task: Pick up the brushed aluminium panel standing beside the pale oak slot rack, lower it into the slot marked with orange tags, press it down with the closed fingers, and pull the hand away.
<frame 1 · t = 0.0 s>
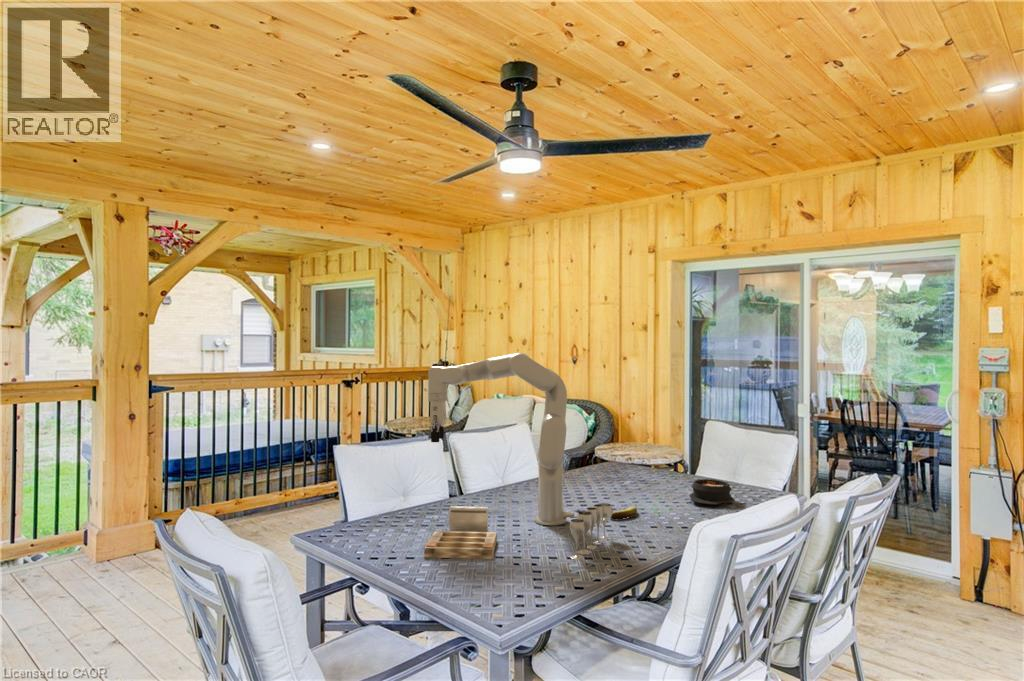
hand: (437, 440, 235), 31 cm above the table, tool pointing down, fingers open, 9 cm apart
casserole: (711, 502, 263), on the table
rack: (462, 548, 200), on the table
yellow brown curved block: (624, 517, 240), on the table
blanking panel: (468, 533, 217), on the table
goblet set: (591, 547, 202), on the table
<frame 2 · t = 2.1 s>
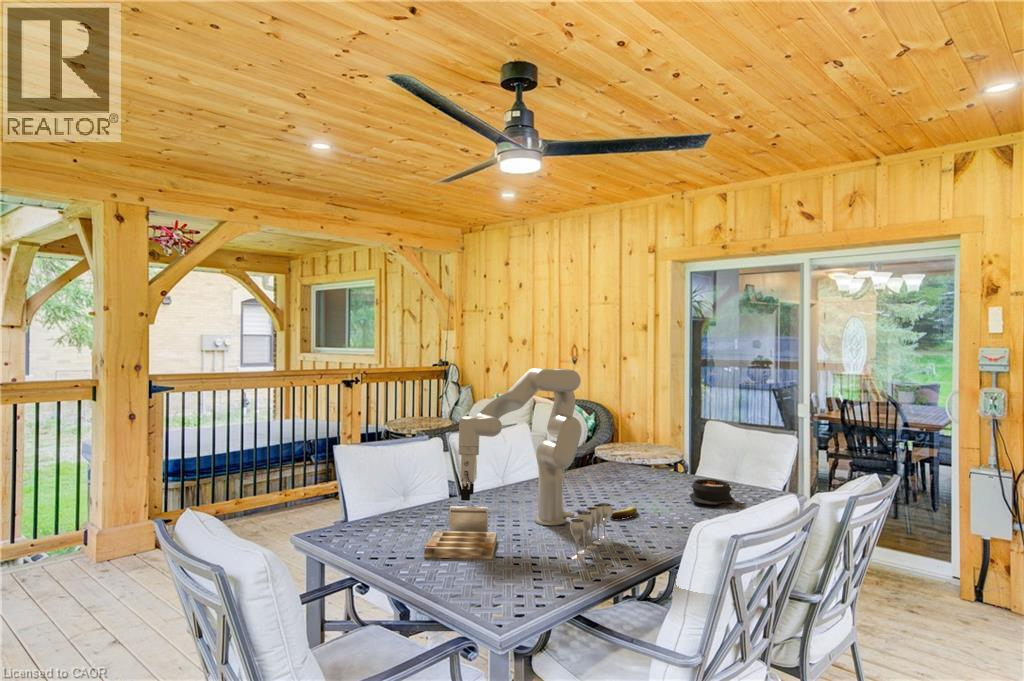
hand: (467, 497, 217), 13 cm above the table, tool pointing down, fingers open, 9 cm apart
nothing on the table moved.
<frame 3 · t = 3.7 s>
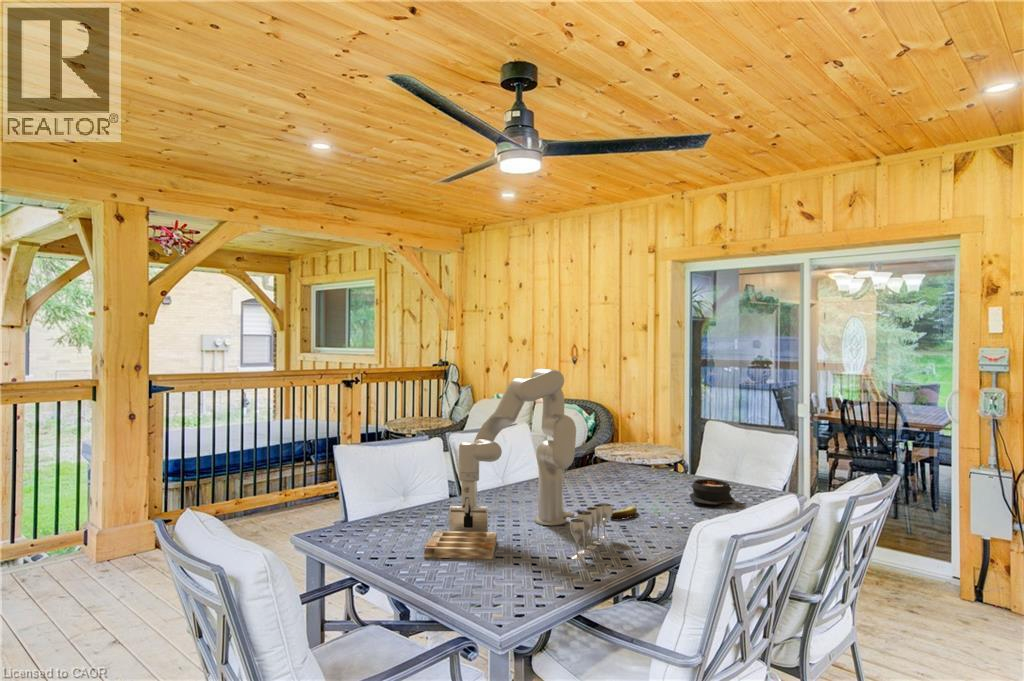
hand: (468, 525, 217), 3 cm above the table, tool pointing down, fingers closed on blanking panel, 2 cm apart
blanking panel: (468, 533, 217), on the table, touching gripper
everything else where it was.
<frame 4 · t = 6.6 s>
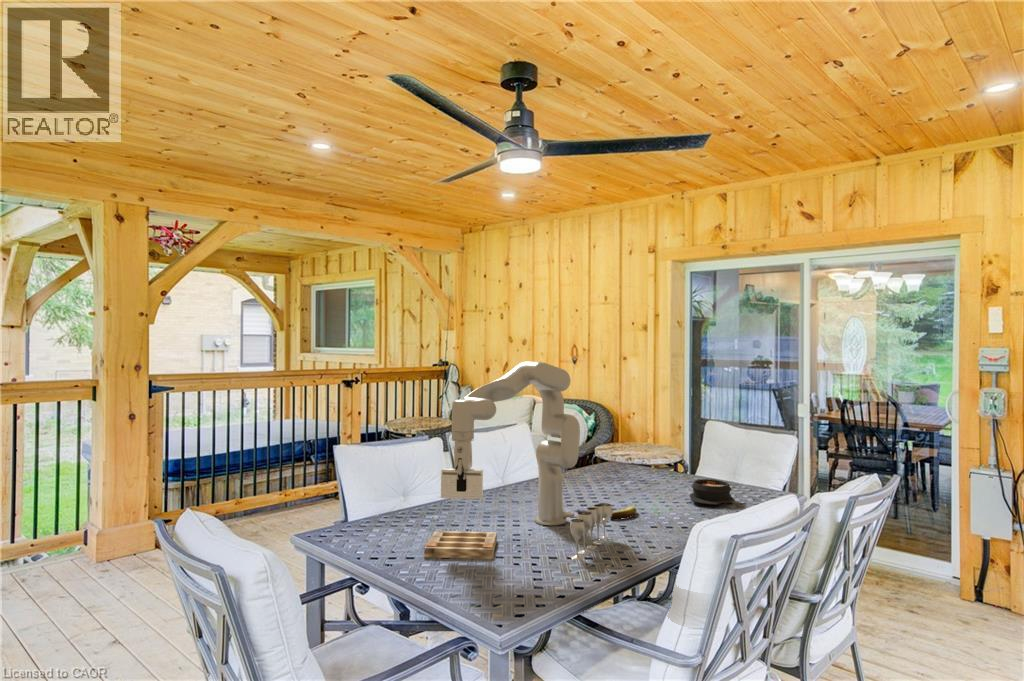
hand: (462, 489, 201), 20 cm above the table, tool pointing down, fingers closed on blanking panel, 2 cm apart
blanking panel: (461, 497, 201), point 17 cm above the table, touching gripper
everything else where it was.
when the fingers open (4 cm above the table, at t = 9.5 s): blanking panel stays where it is, resting on rack.
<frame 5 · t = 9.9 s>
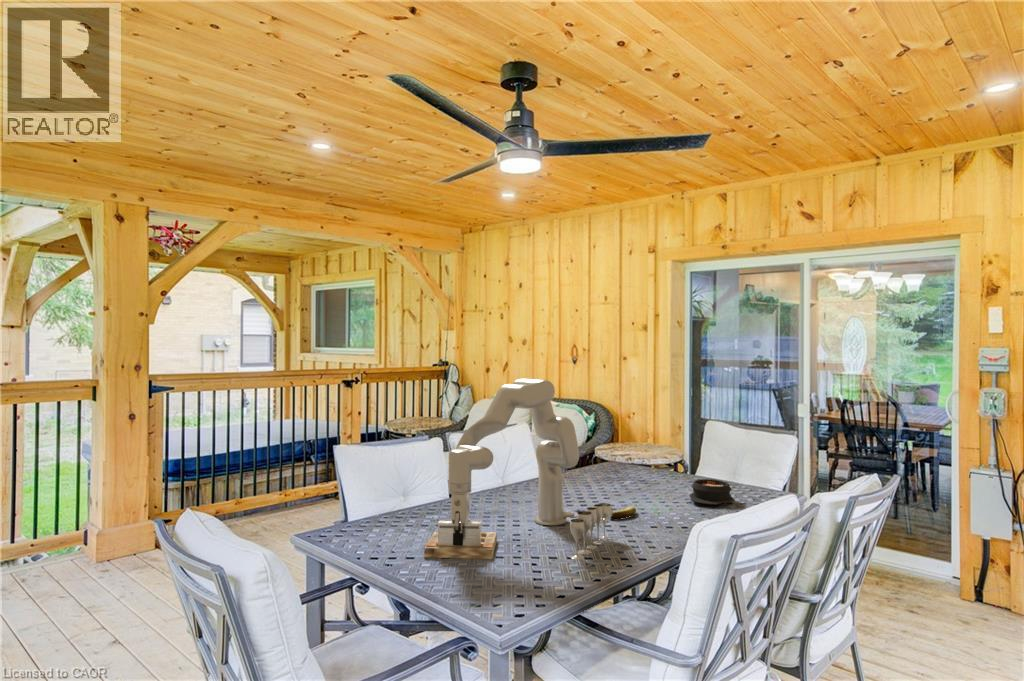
hand: (459, 541, 194), 4 cm above the table, tool pointing down, fingers open, 6 cm apart
blanking panel: (459, 551, 194), point 1 cm above the table, touching rack
everything else where it was.
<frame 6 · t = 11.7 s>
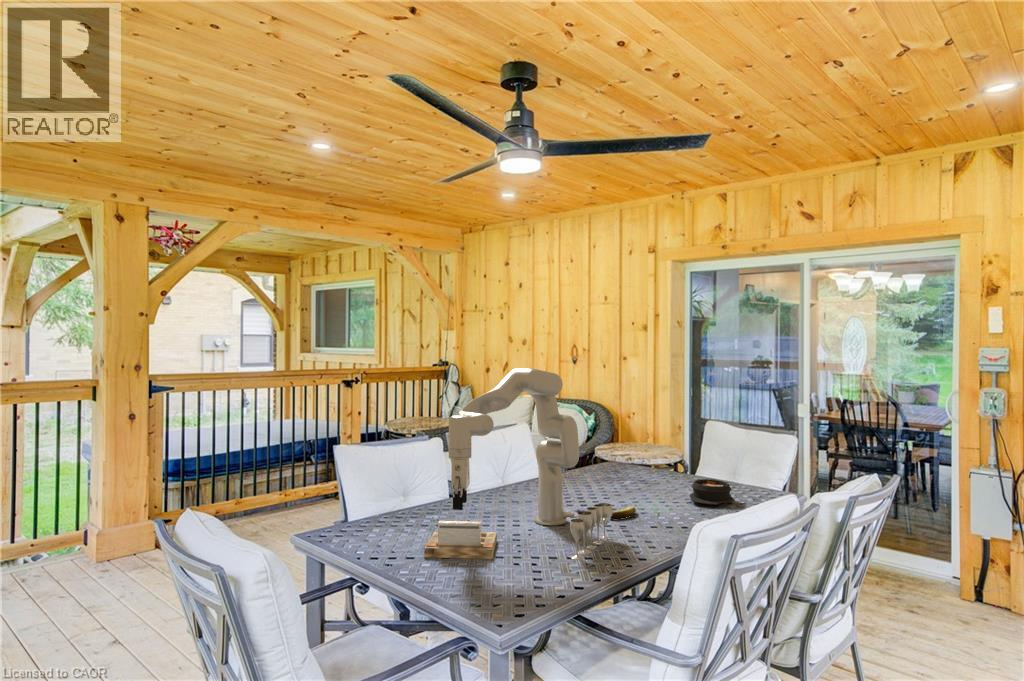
hand: (459, 505, 195), 16 cm above the table, tool pointing down, fingers open, 8 cm apart
nothing on the table moved.
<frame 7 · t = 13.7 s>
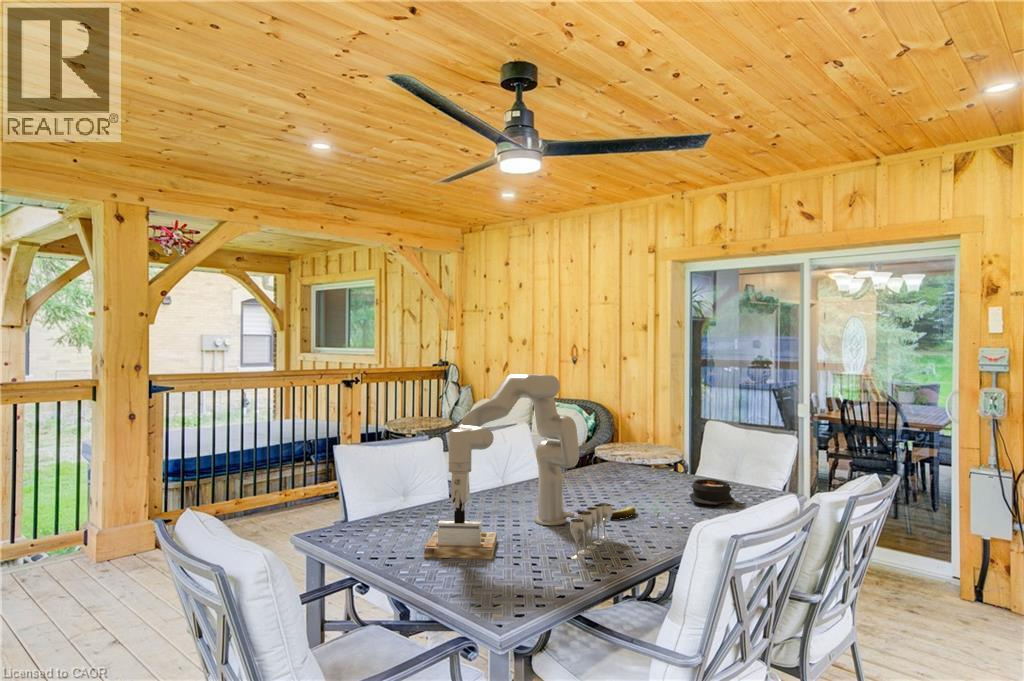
hand: (459, 522, 194), 11 cm above the table, tool pointing down, fingers closed
blanking panel: (459, 551, 194), point 1 cm above the table, touching gripper, rack
everything else where it was.
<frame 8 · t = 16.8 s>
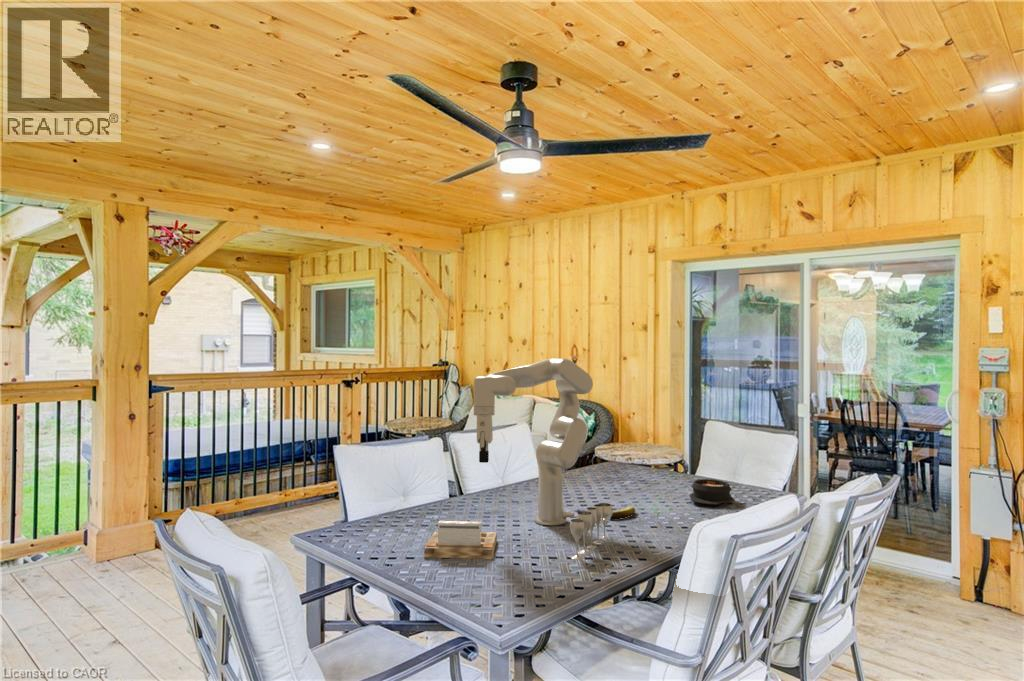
hand: (483, 461, 212), 27 cm above the table, tool pointing down, fingers closed
blanking panel: (459, 551, 194), point 1 cm above the table, touching rack
everything else where it was.
at the end: blanking panel 0.0 cm from the target spot on the rack, point 1.0 cm above the rack's base; blanking panel tilted 0°; the gripper is holding nothing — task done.
